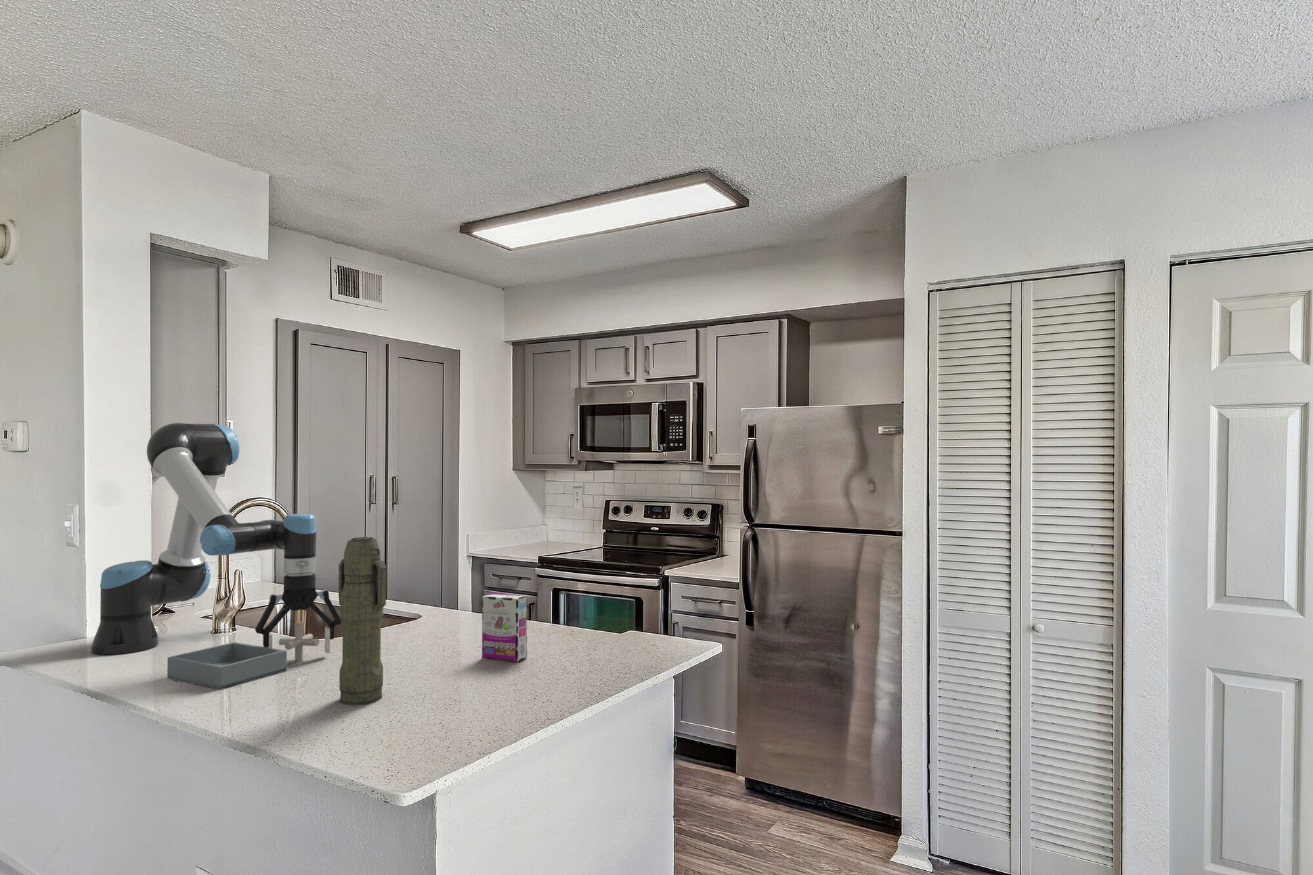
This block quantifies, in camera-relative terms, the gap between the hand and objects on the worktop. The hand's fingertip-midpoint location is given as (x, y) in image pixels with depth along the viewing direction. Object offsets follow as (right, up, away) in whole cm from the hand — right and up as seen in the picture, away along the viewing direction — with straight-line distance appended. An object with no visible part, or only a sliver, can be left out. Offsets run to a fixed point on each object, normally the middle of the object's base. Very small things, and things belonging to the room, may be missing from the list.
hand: (299, 656), depth 198 cm
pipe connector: (0, -2, 0) cm, 2 cm away
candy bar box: (+53, -2, +3) cm, 53 cm away
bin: (-12, -1, -12) cm, 17 cm away
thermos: (+28, -1, -31) cm, 42 cm away
